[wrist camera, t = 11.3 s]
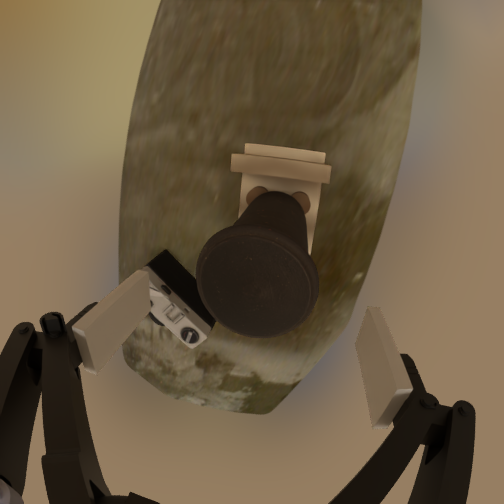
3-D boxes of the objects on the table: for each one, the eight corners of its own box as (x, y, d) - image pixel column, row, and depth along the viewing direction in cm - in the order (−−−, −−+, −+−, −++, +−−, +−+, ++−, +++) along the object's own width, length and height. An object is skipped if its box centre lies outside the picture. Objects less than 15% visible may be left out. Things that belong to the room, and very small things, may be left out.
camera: (138, 270, 48) (109, 295, 38) (173, 242, 45) (146, 264, 36) (187, 329, 50) (169, 363, 41) (225, 307, 48) (211, 341, 39)
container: (257, 263, 40) (224, 357, 21) (231, 202, 37) (168, 254, 19) (317, 242, 37) (335, 329, 19) (293, 178, 35) (291, 207, 17)
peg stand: (246, 143, 38) (233, 140, 30) (324, 153, 37) (333, 152, 29) (234, 273, 45) (220, 301, 37) (304, 284, 44) (305, 314, 36)
